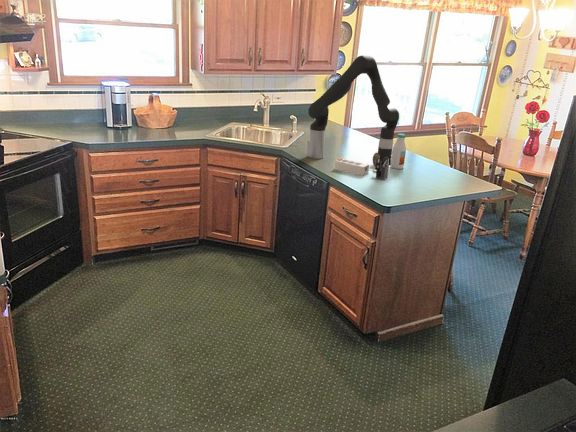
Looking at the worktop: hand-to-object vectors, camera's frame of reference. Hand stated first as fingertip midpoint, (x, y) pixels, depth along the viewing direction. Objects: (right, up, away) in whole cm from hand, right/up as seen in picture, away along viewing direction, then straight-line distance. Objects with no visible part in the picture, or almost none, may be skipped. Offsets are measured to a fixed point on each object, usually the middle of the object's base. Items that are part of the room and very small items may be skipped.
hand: (381, 175), depth 273 cm
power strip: (-15, +3, +10) cm, 19 cm away
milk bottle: (+13, +6, +23) cm, 27 cm away
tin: (+3, +6, +20) cm, 21 cm away
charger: (-1, -1, +1) cm, 2 cm away
